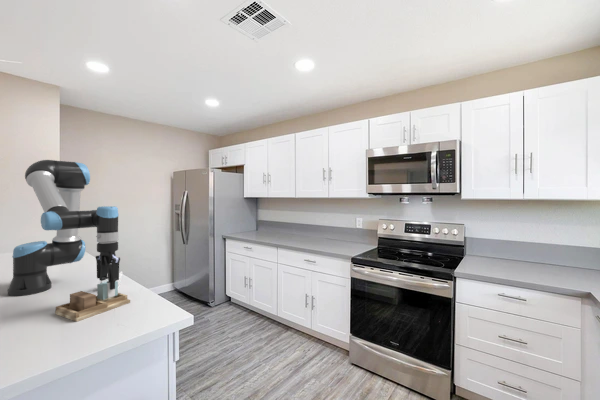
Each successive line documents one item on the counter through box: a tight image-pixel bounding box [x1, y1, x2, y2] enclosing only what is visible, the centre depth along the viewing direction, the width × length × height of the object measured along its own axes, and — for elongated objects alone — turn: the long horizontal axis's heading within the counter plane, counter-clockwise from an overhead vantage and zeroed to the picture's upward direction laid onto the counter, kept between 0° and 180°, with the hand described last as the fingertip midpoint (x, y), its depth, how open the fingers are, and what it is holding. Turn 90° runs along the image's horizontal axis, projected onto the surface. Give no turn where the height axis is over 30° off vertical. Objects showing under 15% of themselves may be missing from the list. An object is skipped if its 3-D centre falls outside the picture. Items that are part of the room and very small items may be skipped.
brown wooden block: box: [69, 290, 97, 312], centre depth 107 cm, size 10×4×6 cm, turn 66°
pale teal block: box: [96, 281, 119, 300], centre depth 116 cm, size 4×6×6 cm, turn 155°
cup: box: [107, 270, 123, 290], centre depth 136 cm, size 7×10×8 cm
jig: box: [54, 292, 131, 323], centre depth 111 cm, size 15×20×3 cm
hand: (107, 295), depth 116 cm, fingers closed on pale teal block, 4 cm apart
